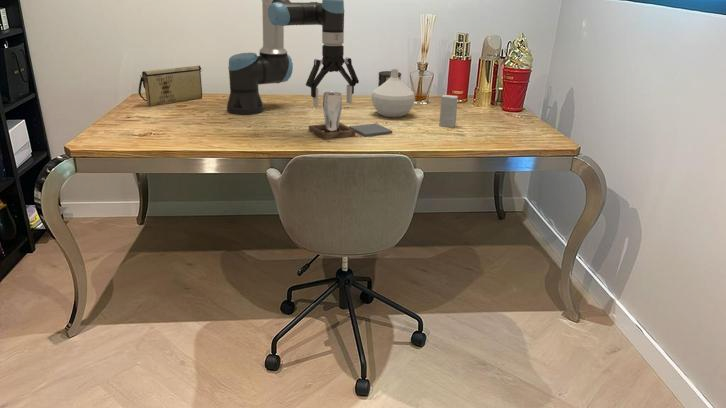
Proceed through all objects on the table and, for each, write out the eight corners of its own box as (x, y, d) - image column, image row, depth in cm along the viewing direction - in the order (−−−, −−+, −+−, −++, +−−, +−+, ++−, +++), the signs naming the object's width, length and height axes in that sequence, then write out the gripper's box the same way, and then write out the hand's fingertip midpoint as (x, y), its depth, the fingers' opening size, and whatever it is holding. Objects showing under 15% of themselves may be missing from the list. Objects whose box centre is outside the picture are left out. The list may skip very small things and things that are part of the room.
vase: (384, 121, 223) (386, 74, 215) (363, 111, 238) (365, 67, 230) (421, 118, 231) (425, 72, 223) (399, 108, 246) (402, 65, 238)
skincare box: (455, 125, 221) (458, 95, 217) (453, 127, 218) (456, 97, 213) (440, 123, 223) (443, 94, 218) (438, 126, 219) (441, 96, 215)
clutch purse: (197, 96, 256) (195, 63, 250) (206, 98, 252) (203, 65, 246) (137, 105, 235) (132, 69, 230) (145, 108, 231) (140, 72, 225)
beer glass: (340, 136, 201) (341, 95, 195) (321, 135, 201) (322, 95, 195) (341, 131, 207) (342, 91, 202) (323, 130, 207) (323, 91, 202)
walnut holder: (323, 139, 196) (323, 134, 195) (308, 130, 206) (308, 125, 206) (355, 135, 202) (355, 130, 201) (339, 127, 212) (339, 122, 212)
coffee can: (374, 104, 251) (375, 73, 246) (381, 100, 260) (383, 70, 255) (395, 107, 248) (397, 75, 242) (402, 102, 257) (404, 72, 251)
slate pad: (364, 136, 201) (364, 134, 201) (349, 128, 211) (349, 126, 210) (392, 133, 207) (392, 130, 207) (375, 125, 216) (376, 123, 216)
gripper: (304, 47, 183) (305, 109, 191) (369, 44, 194) (367, 103, 203) (295, 44, 189) (297, 105, 197) (358, 42, 200) (357, 99, 209)
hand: (332, 104), depth 200 cm, fingers open, 13 cm apart
